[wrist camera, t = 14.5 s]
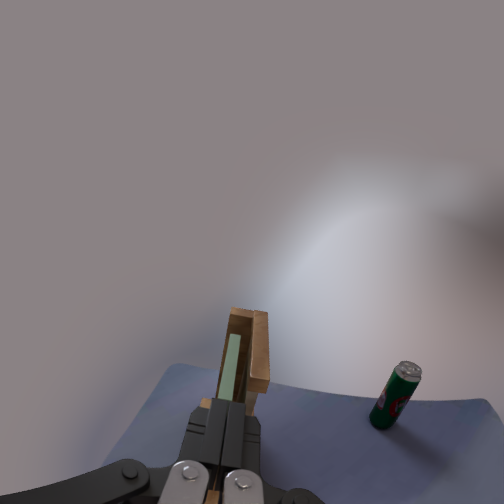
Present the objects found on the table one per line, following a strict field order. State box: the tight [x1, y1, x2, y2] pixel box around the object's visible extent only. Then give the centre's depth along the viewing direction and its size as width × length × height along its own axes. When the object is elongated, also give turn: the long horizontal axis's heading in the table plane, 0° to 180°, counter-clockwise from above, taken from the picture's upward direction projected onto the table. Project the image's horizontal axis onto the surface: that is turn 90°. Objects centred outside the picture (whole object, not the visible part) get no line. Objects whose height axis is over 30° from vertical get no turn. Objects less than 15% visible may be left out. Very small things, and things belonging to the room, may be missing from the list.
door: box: [218, 334, 241, 415], centre depth 28 cm, size 2×11×15 cm, turn 178°
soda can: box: [369, 361, 422, 429], centre depth 39 cm, size 5×5×12 cm
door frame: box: [200, 307, 270, 504], centre depth 26 cm, size 8×25×19 cm, turn 178°
